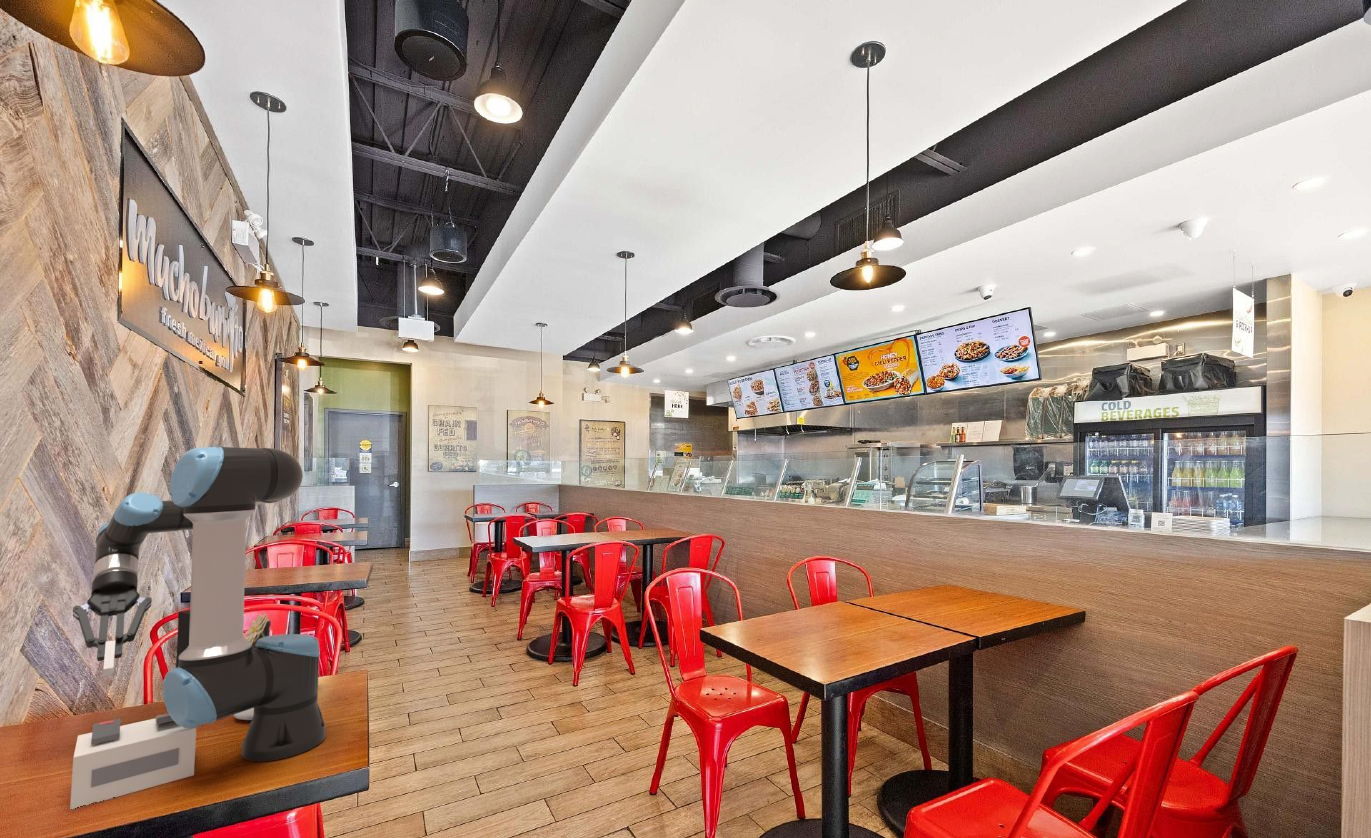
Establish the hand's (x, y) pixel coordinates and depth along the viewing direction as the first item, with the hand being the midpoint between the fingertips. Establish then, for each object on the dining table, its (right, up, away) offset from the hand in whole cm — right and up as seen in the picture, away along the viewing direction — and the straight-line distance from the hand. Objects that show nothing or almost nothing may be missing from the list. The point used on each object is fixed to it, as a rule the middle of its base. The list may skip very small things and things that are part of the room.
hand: (108, 672), depth 123 cm
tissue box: (-2, -21, +25) cm, 33 cm away
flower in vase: (+16, -20, +22) cm, 34 cm away
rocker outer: (+9, -7, -9) cm, 15 cm away
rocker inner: (+15, -8, -3) cm, 17 cm away
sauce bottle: (+7, -21, +33) cm, 40 cm away
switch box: (+12, -18, -7) cm, 23 cm away
